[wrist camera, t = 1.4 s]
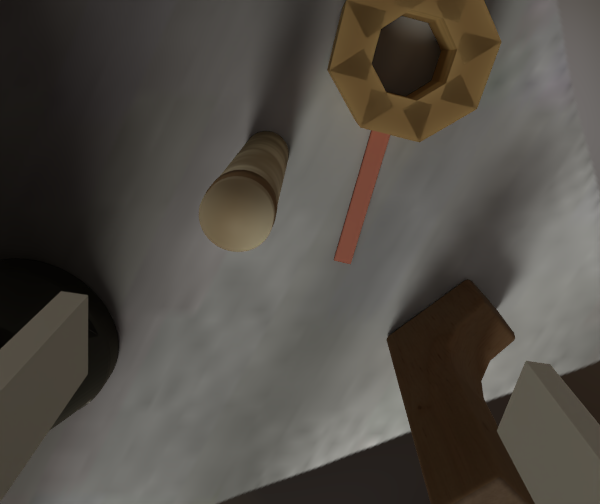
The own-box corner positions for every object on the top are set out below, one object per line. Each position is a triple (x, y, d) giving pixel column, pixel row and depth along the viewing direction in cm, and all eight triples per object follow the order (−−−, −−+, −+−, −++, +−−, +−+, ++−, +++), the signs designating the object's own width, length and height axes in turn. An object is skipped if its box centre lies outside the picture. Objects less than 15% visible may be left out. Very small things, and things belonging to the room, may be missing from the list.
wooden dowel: (240, 170, 37) (192, 243, 22) (248, 125, 36) (204, 171, 21) (283, 180, 37) (265, 260, 22) (293, 136, 36) (281, 190, 21)
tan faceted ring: (317, 110, 35) (317, 116, 31) (354, -42, 31) (359, -55, 28) (445, 143, 36) (460, 152, 32) (496, -2, 32) (520, -10, 28)
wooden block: (467, 275, 40) (579, 430, 23) (497, 310, 41) (625, 481, 24) (384, 337, 42) (431, 516, 26) (414, 368, 44) (479, 559, 27)
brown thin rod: (350, 262, 40) (350, 264, 39) (334, 258, 40) (334, 260, 39) (389, 132, 36) (390, 132, 35) (372, 127, 36) (372, 128, 35)
